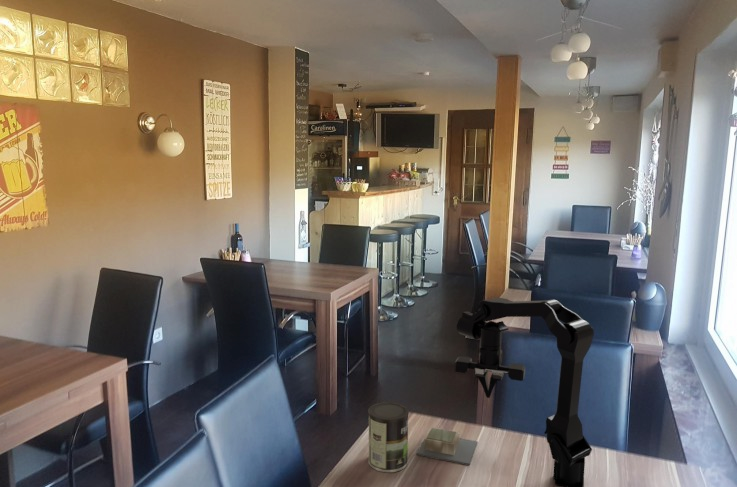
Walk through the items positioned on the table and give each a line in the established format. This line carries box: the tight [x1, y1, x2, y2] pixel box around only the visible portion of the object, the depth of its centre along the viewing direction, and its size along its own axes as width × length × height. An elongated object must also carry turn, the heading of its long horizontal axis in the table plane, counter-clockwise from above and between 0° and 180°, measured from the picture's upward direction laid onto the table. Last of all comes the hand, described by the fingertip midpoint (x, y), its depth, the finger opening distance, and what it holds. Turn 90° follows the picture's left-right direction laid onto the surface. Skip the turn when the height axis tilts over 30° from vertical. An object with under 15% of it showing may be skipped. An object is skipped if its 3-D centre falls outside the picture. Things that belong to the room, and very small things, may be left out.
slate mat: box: [416, 437, 479, 466], centre depth 146 cm, size 14×12×1 cm
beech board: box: [424, 426, 461, 455], centre depth 146 cm, size 3×7×8 cm
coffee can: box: [367, 401, 410, 473], centre depth 139 cm, size 10×10×14 cm
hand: (488, 397), depth 150 cm, fingers closed
